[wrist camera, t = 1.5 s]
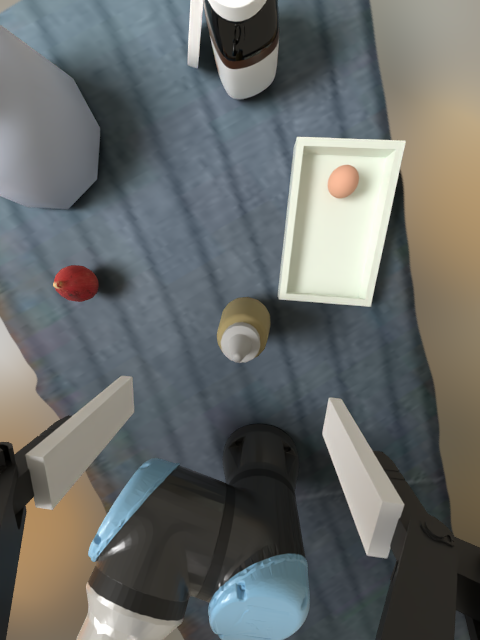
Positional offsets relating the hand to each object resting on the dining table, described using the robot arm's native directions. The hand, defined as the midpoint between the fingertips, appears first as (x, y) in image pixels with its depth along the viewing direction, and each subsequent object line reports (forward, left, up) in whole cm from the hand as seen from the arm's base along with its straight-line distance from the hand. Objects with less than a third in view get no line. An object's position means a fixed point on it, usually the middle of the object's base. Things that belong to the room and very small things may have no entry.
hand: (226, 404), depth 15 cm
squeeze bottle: (0, 0, -26) cm, 26 cm away
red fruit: (+4, +28, -26) cm, 39 cm away
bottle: (+25, +34, -26) cm, 50 cm away
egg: (+21, -12, -25) cm, 35 cm away
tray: (+15, -12, -26) cm, 32 cm away
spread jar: (+36, +5, -26) cm, 45 cm away
